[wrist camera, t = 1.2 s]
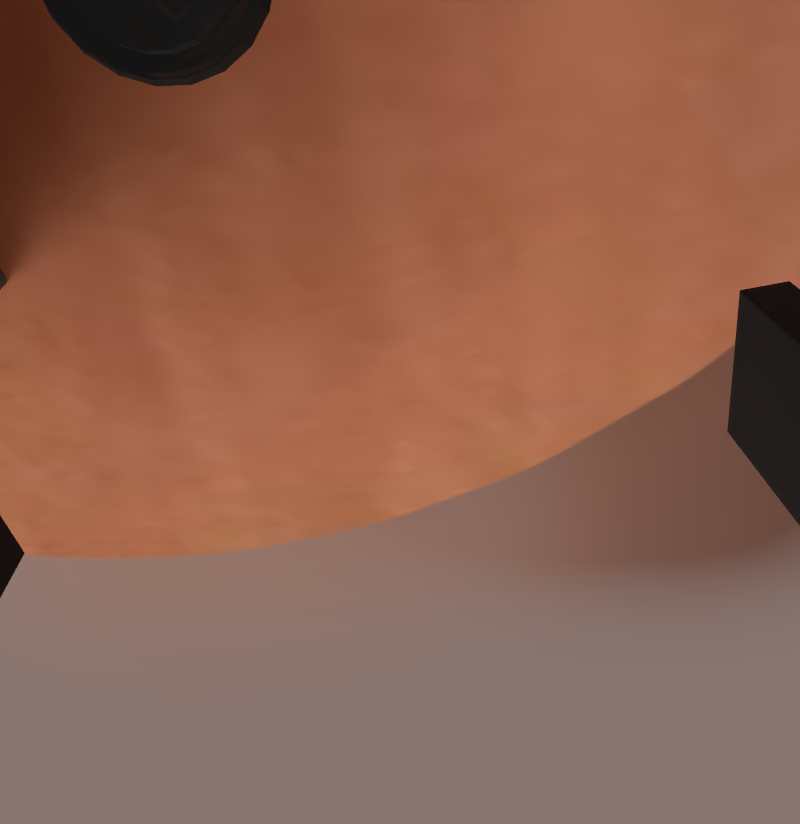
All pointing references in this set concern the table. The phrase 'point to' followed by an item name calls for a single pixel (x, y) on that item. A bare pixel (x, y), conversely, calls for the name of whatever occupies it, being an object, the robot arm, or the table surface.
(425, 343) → the table surface
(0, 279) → the dark teal hollow box
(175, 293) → the table surface
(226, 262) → the table surface
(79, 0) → the coffee cup
